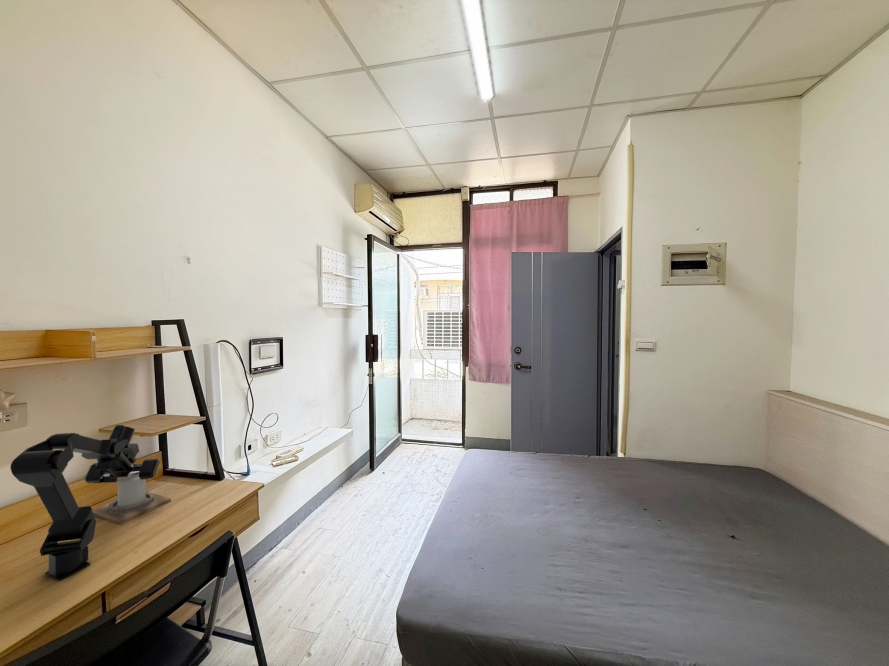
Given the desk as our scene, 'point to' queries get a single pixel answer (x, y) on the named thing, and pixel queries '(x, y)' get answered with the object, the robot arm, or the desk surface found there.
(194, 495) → the desk surface
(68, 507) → the robot arm
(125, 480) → the can
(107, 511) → the collar board
